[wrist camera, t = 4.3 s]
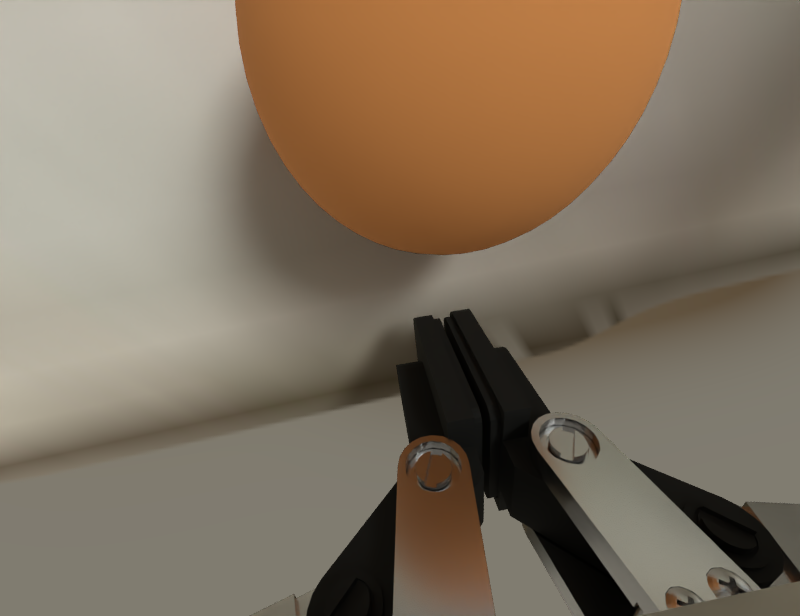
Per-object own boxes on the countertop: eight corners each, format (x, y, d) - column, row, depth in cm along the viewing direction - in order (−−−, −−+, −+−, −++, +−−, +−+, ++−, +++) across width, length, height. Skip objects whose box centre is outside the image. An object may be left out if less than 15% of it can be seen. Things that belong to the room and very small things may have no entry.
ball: (547, -108, 7) (1234, -916, 2) (522, 199, 10) (725, 286, 4) (244, -89, 6) (-265, -1110, 1) (314, 225, 9) (267, 356, 4)
